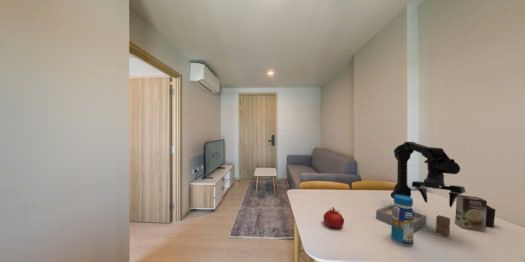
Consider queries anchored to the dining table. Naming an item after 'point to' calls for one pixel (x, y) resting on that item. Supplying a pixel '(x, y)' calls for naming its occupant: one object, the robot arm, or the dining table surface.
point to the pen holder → (490, 216)
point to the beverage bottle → (402, 220)
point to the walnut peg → (443, 225)
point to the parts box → (385, 216)
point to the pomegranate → (333, 218)
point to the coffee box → (471, 213)
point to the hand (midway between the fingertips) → (437, 204)
